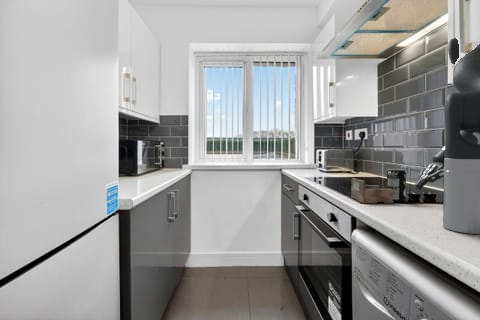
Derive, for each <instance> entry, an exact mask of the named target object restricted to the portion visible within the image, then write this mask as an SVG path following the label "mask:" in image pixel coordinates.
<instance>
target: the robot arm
mask: <svg viewBox="0 0 480 320" xmlns="http://www.w3.org/2000/svg"><path fill="white" fill-rule="evenodd" d="M447 53H448V57H449V60H450V64H451V63H452V64H455V62H456V61H457V59H458V58H459V44H458V40H457V39H456V37H453V38H451V39H450V40H449V41H448V43H447ZM452 64H451V65H452ZM452 74H453V75H452V84H453V86H454V88H455V89H456V90H457V91H458V92H452V93H448V95H447V96H446V98H445V100H444V101H445V102H444V108H443V111H444V113H443V115H444V133H445V135H444V138H445V139H444V146H443V147H442V148H440V150H439V151H437V152H436V153H435V154H434V155H433V156H432V162H431V164H429V165H428V166H427V167H422V168H421V169H420V171H419V174H418V178H419V180H417V181H416V182H415V183H414V184H413V187H414V188H415V189H416V190H419V191H420V190H422V189H423V187H424V186H425V185H427V184H429V183H434V182H436V181H438V180H440V179H442V178H443V198H442V199H443V200H442V201H443V205H442V207H443V208H442V227H443V228H444V229H447V230H448V231H449V230H450V231H453V232H457V233H464V234H473V235H480V143H478V142H479V138H477V136H476V135H475V134H478V135H480V44H479V45H477V47H476V48H475V49H474V50H472V51H471V52H469V53H468V54H466V55H465V56H464V57H463V58H461V59H460V60H459V61H458V63H457V64H456V66H455V68H454V69H453V73H452Z"/></svg>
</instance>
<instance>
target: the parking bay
mask: <svg viewBox="0 0 480 320" xmlns="http://www.w3.org/2000/svg"><path fill="white" fill-rule="evenodd" d="M350 187H351V191H350V192H351V193H350V195H351V199H353V198H354V199H353V200H355V199H356V200H355V201H357V200H358V201H357V202H359V201H360V202H359V203H361V202H362V203H361V204H378V203H377V202H384V203H383V204H394V201H393V189H387V188H380V187H381V186H380V185H376V184H375V185H372V184H371V185H366V180H363V179H359V178H355V177H351V186H350Z"/></svg>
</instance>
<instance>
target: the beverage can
mask: <svg viewBox="0 0 480 320" xmlns="http://www.w3.org/2000/svg"><path fill="white" fill-rule="evenodd" d="M386 189H393V202H394V201H403V202H405V201H404V200H406V199H407V172H406V169H405V168H388V169H387V171H386Z"/></svg>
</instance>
